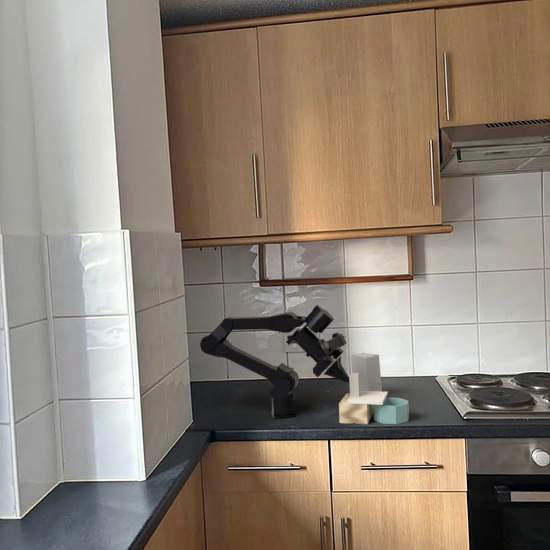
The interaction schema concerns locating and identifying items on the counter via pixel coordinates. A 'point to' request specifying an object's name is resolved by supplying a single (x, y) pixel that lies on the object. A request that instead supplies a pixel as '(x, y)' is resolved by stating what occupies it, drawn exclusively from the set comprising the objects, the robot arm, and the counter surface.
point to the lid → (363, 393)
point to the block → (354, 412)
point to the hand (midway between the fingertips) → (349, 381)
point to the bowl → (392, 411)
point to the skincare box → (367, 371)
